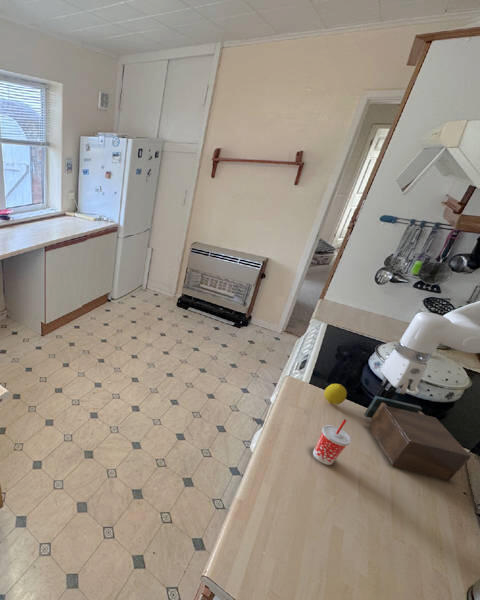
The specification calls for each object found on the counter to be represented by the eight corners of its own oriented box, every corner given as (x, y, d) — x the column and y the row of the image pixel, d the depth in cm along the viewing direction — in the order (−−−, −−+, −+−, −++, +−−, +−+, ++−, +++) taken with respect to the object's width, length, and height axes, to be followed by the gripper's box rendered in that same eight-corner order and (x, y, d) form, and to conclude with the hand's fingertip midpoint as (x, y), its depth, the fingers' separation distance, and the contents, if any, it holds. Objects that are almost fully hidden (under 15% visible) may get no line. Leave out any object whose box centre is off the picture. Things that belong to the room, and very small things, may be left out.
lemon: (341, 403, 108) (351, 385, 104) (338, 412, 104) (349, 393, 100) (321, 394, 111) (331, 376, 107) (319, 402, 107) (329, 384, 104)
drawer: (358, 405, 106) (369, 387, 103) (399, 415, 103) (411, 396, 100) (383, 444, 92) (397, 425, 88) (431, 457, 89) (448, 438, 86)
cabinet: (368, 428, 99) (383, 404, 94) (417, 441, 95) (435, 417, 91) (391, 465, 87) (410, 440, 83) (448, 481, 84) (471, 456, 79)
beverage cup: (339, 470, 84) (364, 432, 78) (313, 462, 86) (335, 425, 80) (331, 451, 89) (354, 415, 83) (306, 444, 91) (327, 408, 85)
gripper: (444, 369, 89) (409, 418, 97) (413, 342, 102) (384, 386, 110) (412, 362, 91) (380, 410, 99) (385, 336, 103) (359, 380, 112)
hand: (382, 398), depth 104 cm, fingers closed
